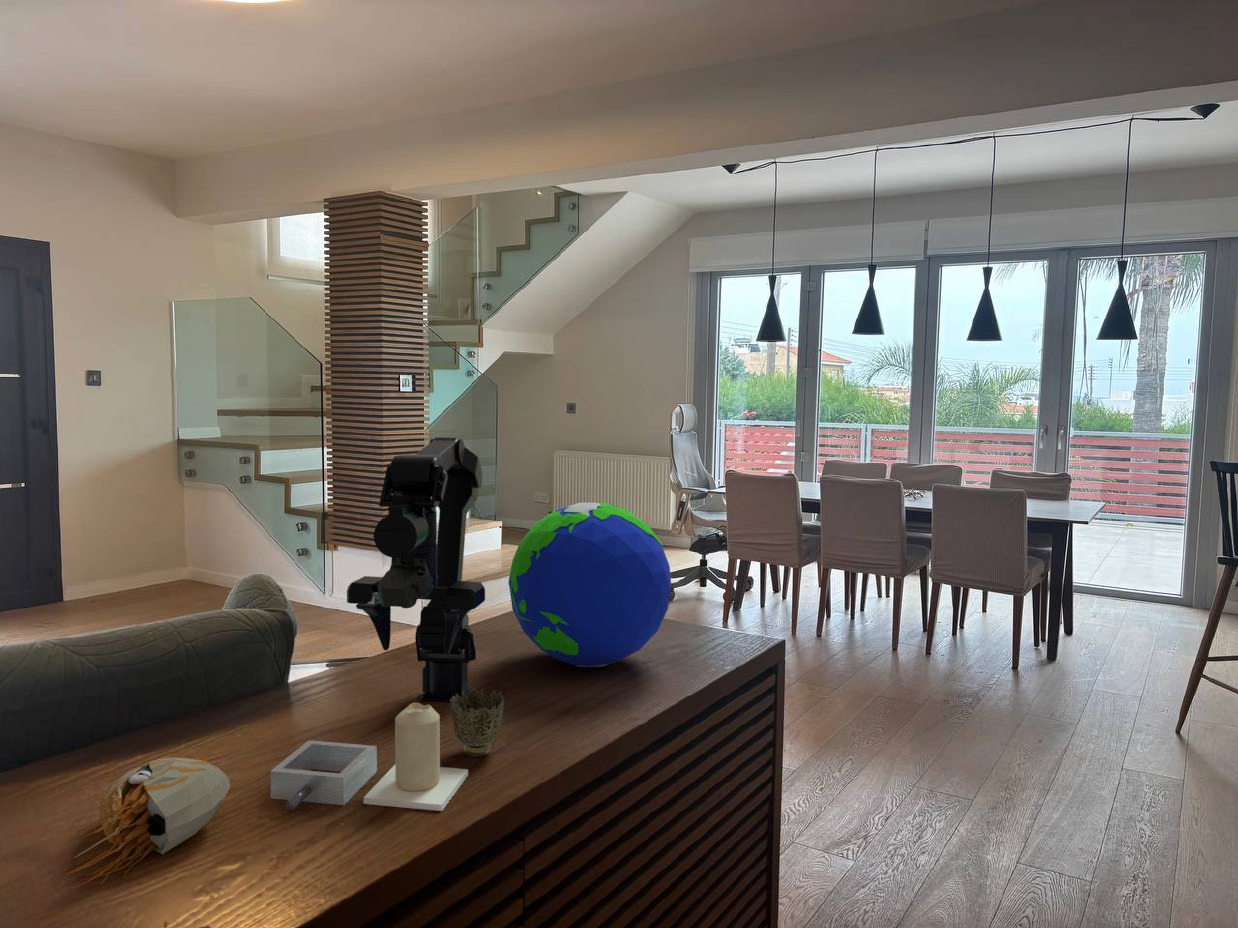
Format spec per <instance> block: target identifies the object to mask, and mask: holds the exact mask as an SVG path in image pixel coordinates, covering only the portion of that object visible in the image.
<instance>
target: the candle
mask: <svg viewBox="0 0 1238 928" xmlns="http://www.w3.org/2000/svg"><path fill="white" fill-rule="evenodd" d="M440 719H441V717H440V714H439V713H438V712H437V711H436V710H435V709H434V708H433V707H432V706H431V705H430V704H425V705H424V704H422V703H419V702H416V701H415V702H412V703H409V705H408V706H406V707H405V708H404V709H403V710H402V711H400V712H399V714H397V716H395V718H394V740H395V741H394V747H395V748H394V749H395V751H394V753H395V756H394V757H395V758H394V759H395V761H394V765H395V776H396V786H397V787H398V788H399V789H401V790H405V791H412V792H415V791H424V790H428V789H431V788H433V787H435V786H436V785H437V784H438V783H439V779H440V767H441V760H440V759H441V756H440V755H441V750H440V749H441V745H440V744H441V739H440V738H441V736H440V734H441V731H440V730H441V729H440V728H441V725H440V724H441V723H440V722H441V721H440Z"/></svg>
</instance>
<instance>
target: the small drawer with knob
mask: <svg viewBox="0 0 1238 928" xmlns="http://www.w3.org/2000/svg"><path fill="white" fill-rule="evenodd" d="M377 746H378V745H370V744H369V745H367V744H356V743H345V742H344V743H343V742H331V741H320V740H310V739H309V740H308V741H306V742H305V743H304V744H302V745H301V746H299V748H297V749H296V750H294V752H292V753H291V754H290V755H289V756H287V757H286V758H285V759H284V760H282V761H281V762H279V764H278V765H276V766H275V767H274V768H272V769H271V770H270V773H269V774H270V776H269V777H270V799H274V800H275V799H276V800H283V801H284V800H286V801H285V808H286V809H287V810H288V811H292V810H295V808H297V806H298V805H300V804H301V803H302V802H304V803H315V804H316V803H317V804H326V805H337V806H345V805H346V804H347V803H348V802H349V801H350V800H351V799H352V798H353V797H354V796H355V794H356V793H358V792H359V790H360V789H362V788H363V786H364V785H365V784H366V783H368V781H369V780H371V778H372V777H373V776H374V775H375V774H376V773H377V772H378V766H377V765H378V764H377V763H378V759H377V758H378V752H377V748H378V747H377ZM314 770H315V771H314ZM325 771H326V772H325ZM328 771H329V772H328Z"/></svg>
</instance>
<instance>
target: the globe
mask: <svg viewBox="0 0 1238 928" xmlns="http://www.w3.org/2000/svg"><path fill="white" fill-rule="evenodd" d="M511 562H512V563H511V566H510V570H509V571H510V572H509V577H508V586H509V593H510V595H509V596H510V602H511V603H510V604H511V608H512V611H513V613H514V615H515V617H516V619H517V622H518V623H519V625H520V628H521V629H522V631H523V633H524V634H525V635H526V636H527V637H528V638H529V639H530V640H531V641H532V643H534V644H535V646H537V647H538V648H539V649H540V650H541V651H543V652H544V653H546V654H547V655H550V656H551V657H552V658H554V659H556V660H559V661H561V662H563V663H567V664H571V665H574V666H576V667H579V668H580V667H582V668H587V667H589V668H590V667H591V668H592V667H593V668H597V667H600V668H601V667H606V666H609V665H610V664H613V663H618V662H620V661H621V660H624V659H625V658H627V657H629V656H631V655H633V654H634V653H637V652H638V651H641V649H642V648H643V647H644V646H645V645H646V644H647V643H648V642H649V641H650V640H651V639H652V638H653V636H655V634H657V633H658V631H659V630H660V627H661V624H663V623H662V622H663V620H664V619H665V616H666V614H667V613H668V610H669V605H670V596H671V590H672V576H671V575H672V574H671V566H670V563H669V561H668V558H667V556H666V553H665V550H664V545H663V542H662V541H661V540H660V539H659V538H658V536H657V535H656V533H654V531H653V530H652V529H651V527H650V526H649V525H648V524H647V523H645V522H644V521H643V520H641V519H640V518H638V517H637V516H635V515H634V514H633V513H631V512H630V511H628V510H627V509H624V508H620V507H618V506H614V505H611V504H608V503H604V502H578V503H575V504H571V505H568V506H566V507H563V508H560V509H556V510H555V511H553V512H550V513H549V514H547V515H546V516H544V517H543V518H542V519H540V520H539V521H537V522H535V523H534V524H533V526H532V527H531V528H530V529H529V531H528V532H527V533H526V534H525V536H524V537H523V538H522V540H521V541H520V542H519V543H518V547H517V548H516V551H515V553H514V556H513V558H512V561H511Z"/></svg>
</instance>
